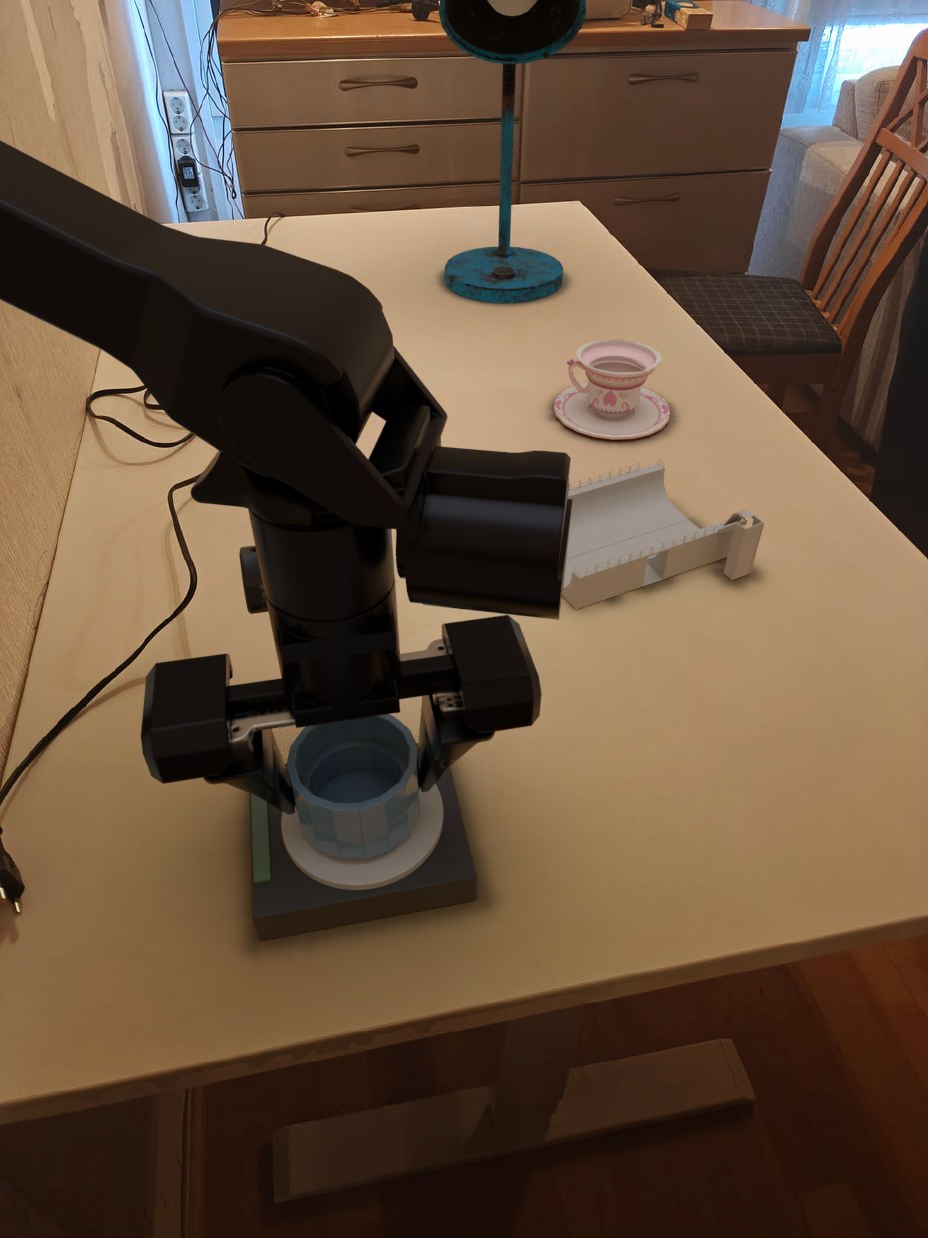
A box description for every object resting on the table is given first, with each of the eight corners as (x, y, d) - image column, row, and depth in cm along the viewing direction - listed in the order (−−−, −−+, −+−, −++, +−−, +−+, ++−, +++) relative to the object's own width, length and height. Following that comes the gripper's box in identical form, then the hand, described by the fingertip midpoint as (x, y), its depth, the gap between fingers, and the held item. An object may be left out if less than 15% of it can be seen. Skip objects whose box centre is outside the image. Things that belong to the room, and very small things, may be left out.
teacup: (664, 387, 94) (673, 333, 90) (674, 444, 86) (685, 386, 81) (553, 383, 95) (557, 328, 91) (552, 439, 86) (557, 381, 82)
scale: (259, 941, 47) (250, 912, 45) (254, 793, 54) (246, 762, 52) (476, 900, 49) (477, 871, 47) (443, 762, 56) (443, 731, 54)
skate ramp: (653, 492, 79) (661, 443, 76) (750, 574, 70) (764, 522, 67) (509, 536, 74) (511, 486, 71) (594, 630, 65) (601, 578, 62)
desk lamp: (438, 318, 108) (429, -169, 78) (447, 255, 125) (442, -167, 95) (567, 319, 108) (607, -169, 78) (559, 257, 124) (590, -167, 94)
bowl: (275, 839, 48) (261, 783, 45) (337, 750, 53) (328, 693, 50) (386, 883, 46) (380, 828, 43) (440, 786, 51) (438, 730, 48)
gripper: (495, 461, 45) (489, 671, 56) (124, 501, 43) (190, 715, 53) (554, 596, 37) (534, 813, 48) (100, 657, 34) (184, 874, 45)
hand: (358, 796), depth 48 cm, fingers closed on bowl, 7 cm apart
